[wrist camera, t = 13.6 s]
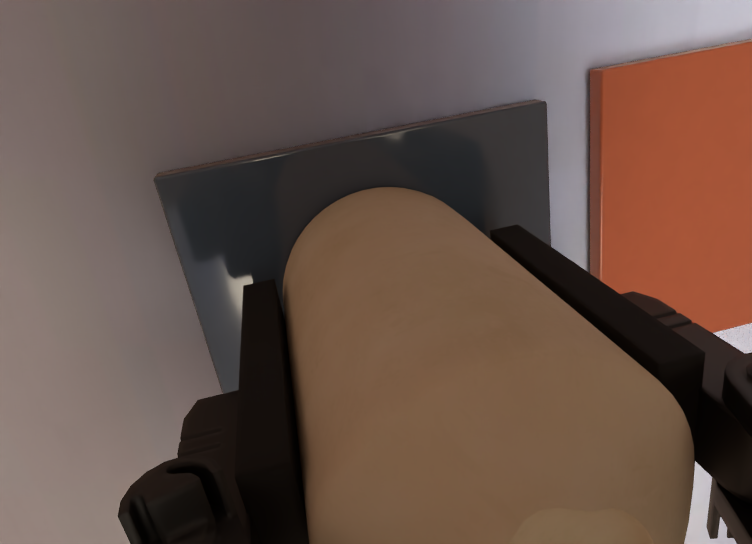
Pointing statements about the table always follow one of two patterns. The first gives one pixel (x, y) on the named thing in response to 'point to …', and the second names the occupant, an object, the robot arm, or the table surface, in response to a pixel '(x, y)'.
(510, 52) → the table surface
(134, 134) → the table surface
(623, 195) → the mug tile
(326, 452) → the candle
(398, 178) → the candle tile
